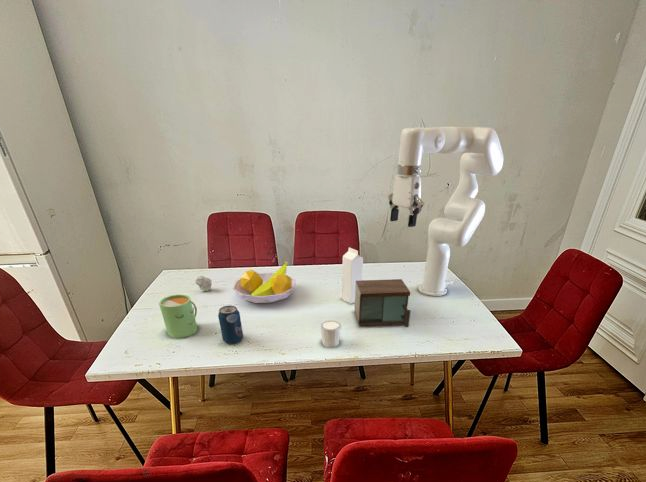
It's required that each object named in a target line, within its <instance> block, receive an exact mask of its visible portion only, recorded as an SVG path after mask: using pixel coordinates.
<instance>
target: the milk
mask: <svg viewBox="0 0 646 482" xmlns="http://www.w3.org/2000/svg"><path fill="white" fill-rule="evenodd" d="M341 271H342V277H341V279H342V280H341V289H342V290H341V299H342V301H344V302H346V303H348V304H350V305H351V304H355V286H356V281H361V280H363V273H364V256H361V255H360V254H359V250H357V249H355V248H352V247H350V246H349V247H348V250H347V251H346V252H345V253H344V254H343V255H342V269H341Z"/></svg>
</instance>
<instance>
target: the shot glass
mask: <svg viewBox="0 0 646 482" xmlns="http://www.w3.org/2000/svg"><path fill="white" fill-rule="evenodd" d="M341 329H342V325H341V322H339V321H337V320H325V321H323V322H321V323H320V331H321V332H320V333H321V341H322V345H323V346H325V347H327V348H335V347H337V346H338V345H339V343H340V337H341V336H340V335H341Z"/></svg>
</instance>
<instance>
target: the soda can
mask: <svg viewBox="0 0 646 482" xmlns="http://www.w3.org/2000/svg"><path fill="white" fill-rule="evenodd" d="M240 313H241V312H240V311H239V310H238V307H236V306H235V305H224V306H222V307H220V308H219V310H218V314H217V317H218V323H219V327H220V332H221V338H222V340H223V342H225V343H226V344H228V345H237V344H240V343H241V342H242V341H243V338H244V333H243V325H242V320H241V314H240Z"/></svg>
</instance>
